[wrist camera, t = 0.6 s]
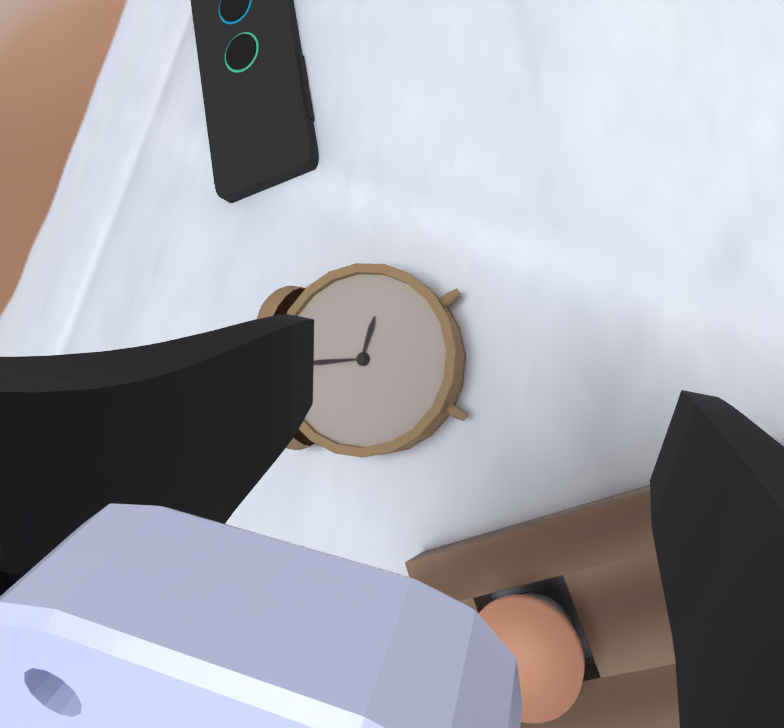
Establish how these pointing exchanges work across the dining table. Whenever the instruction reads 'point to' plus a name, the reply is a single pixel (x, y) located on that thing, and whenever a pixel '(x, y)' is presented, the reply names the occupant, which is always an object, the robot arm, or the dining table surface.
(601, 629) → the button panel
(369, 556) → the dining table surface
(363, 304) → the alarm clock
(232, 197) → the smart home device
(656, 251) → the dining table surface
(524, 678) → the terracotta plunger
